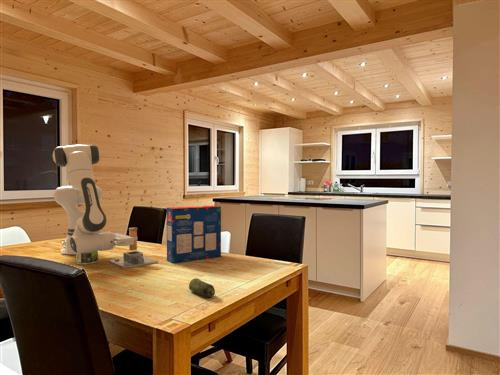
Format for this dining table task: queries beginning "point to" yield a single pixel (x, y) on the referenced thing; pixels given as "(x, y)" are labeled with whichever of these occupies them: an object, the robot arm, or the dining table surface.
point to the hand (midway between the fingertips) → (134, 237)
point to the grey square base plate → (132, 260)
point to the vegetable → (201, 288)
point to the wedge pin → (132, 234)
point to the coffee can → (87, 257)
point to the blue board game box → (193, 233)
